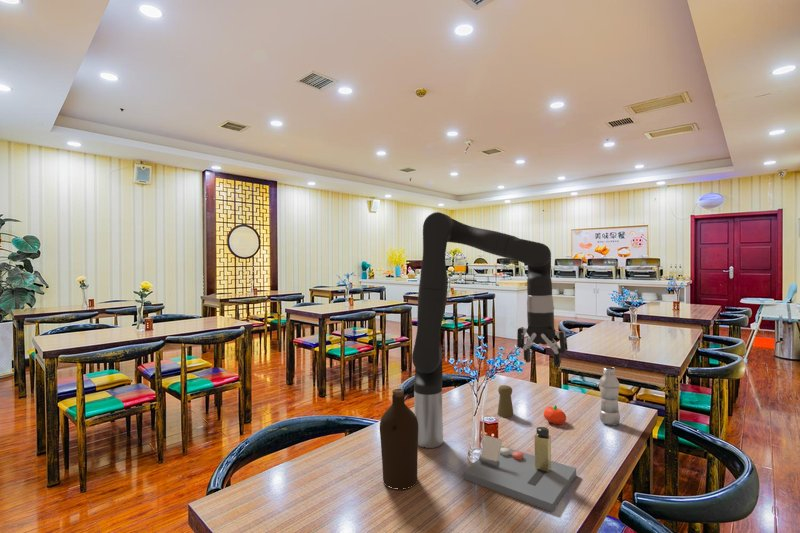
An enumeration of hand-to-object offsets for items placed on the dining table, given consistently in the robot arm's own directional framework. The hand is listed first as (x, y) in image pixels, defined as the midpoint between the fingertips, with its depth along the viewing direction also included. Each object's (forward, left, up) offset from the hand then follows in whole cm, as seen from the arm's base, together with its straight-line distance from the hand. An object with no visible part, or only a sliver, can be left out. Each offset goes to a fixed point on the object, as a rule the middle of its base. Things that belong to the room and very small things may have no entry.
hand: (542, 363), depth 120 cm
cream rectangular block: (-16, -12, -26) cm, 33 cm away
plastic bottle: (+26, +30, -29) cm, 49 cm away
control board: (-7, -12, -28) cm, 32 cm away
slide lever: (-1, -11, -26) cm, 29 cm away
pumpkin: (+7, +28, -29) cm, 41 cm away
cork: (-10, +32, -29) cm, 44 cm away
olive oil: (-39, -20, -29) cm, 53 cm away
